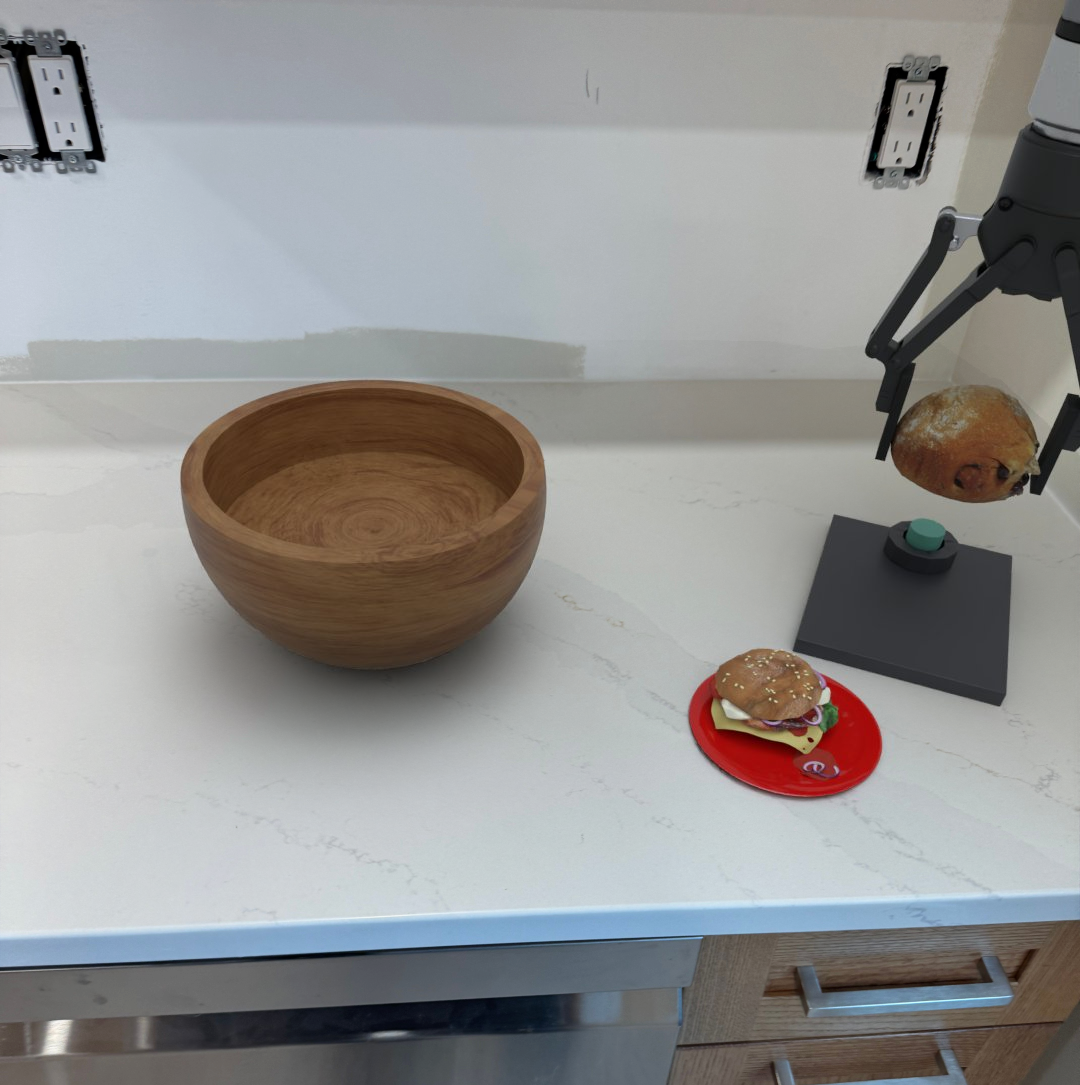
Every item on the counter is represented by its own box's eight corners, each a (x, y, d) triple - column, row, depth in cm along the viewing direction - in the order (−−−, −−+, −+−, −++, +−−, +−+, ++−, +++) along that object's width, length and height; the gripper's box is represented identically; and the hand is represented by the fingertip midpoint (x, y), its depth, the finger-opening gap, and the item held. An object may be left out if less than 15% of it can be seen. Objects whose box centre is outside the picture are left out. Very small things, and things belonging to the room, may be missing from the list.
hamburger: (667, 765, 67) (680, 703, 63) (711, 647, 76) (725, 586, 72) (869, 824, 64) (897, 763, 60) (889, 693, 73) (914, 633, 69)
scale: (1006, 568, 86) (1019, 540, 84) (999, 707, 73) (1015, 678, 71) (829, 526, 90) (838, 498, 88) (792, 651, 77) (800, 622, 74)
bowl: (476, 779, 65) (476, 602, 55) (153, 694, 70) (96, 515, 59) (574, 576, 83) (588, 412, 72) (310, 518, 87) (287, 356, 76)
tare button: (941, 537, 85) (947, 522, 84) (938, 555, 83) (944, 540, 82) (906, 529, 85) (912, 514, 84) (903, 547, 83) (909, 532, 82)
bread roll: (970, 484, 78) (977, 379, 75) (1072, 495, 68) (1084, 376, 66) (865, 499, 75) (868, 392, 72) (956, 513, 66) (963, 390, 63)
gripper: (884, 116, 56) (796, 457, 72) (1320, 176, 51) (1123, 530, 66) (898, 91, 61) (813, 414, 77) (1296, 144, 56) (1118, 480, 71)
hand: (957, 468), depth 71 cm, fingers closed on bread roll, 10 cm apart
